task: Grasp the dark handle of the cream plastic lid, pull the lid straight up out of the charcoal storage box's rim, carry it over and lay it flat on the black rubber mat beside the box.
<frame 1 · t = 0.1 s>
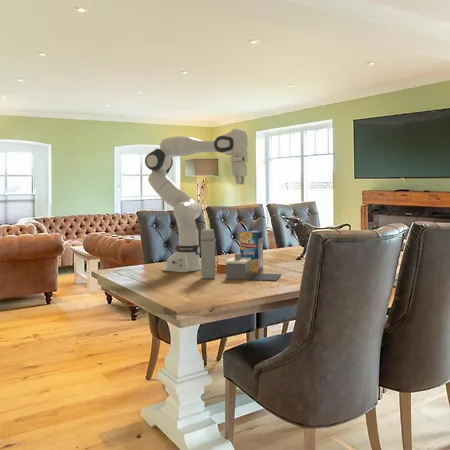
hand: (240, 184, 257), 48 cm above the table, fingers open, 8 cm apart
water bottle: (210, 278, 244), on the table
storage box: (238, 276, 245), on the table
beverage box: (251, 271, 262), on the table
lid: (238, 261, 245), point 8 cm above the table, touching storage box
mat: (265, 277, 241), on the table
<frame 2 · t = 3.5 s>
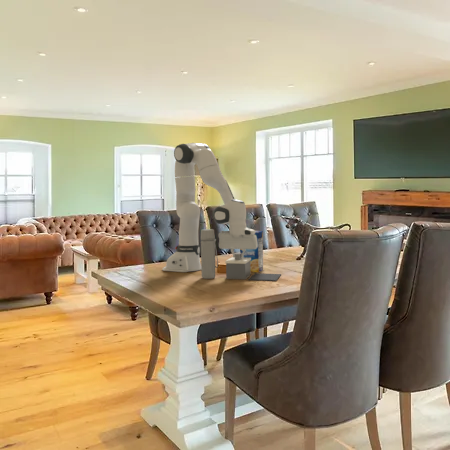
hand: (238, 257, 244), 10 cm above the table, fingers closed on lid, 2 cm apart
lid: (238, 261, 245), point 8 cm above the table, touching gripper, storage box
everything else where it was.
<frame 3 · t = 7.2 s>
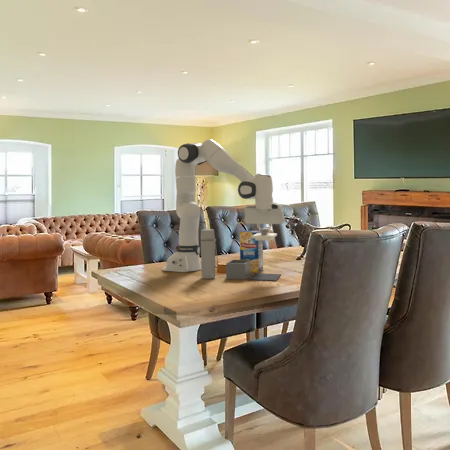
hand: (264, 232, 240), 23 cm above the table, fingers closed on lid, 2 cm apart
lid: (264, 236, 240), point 21 cm above the table, touching gripper
everything else where it was.
when the fingers open (5 cm above the table, at t = 10.7 s): lid drops 1 cm, resting on mat.
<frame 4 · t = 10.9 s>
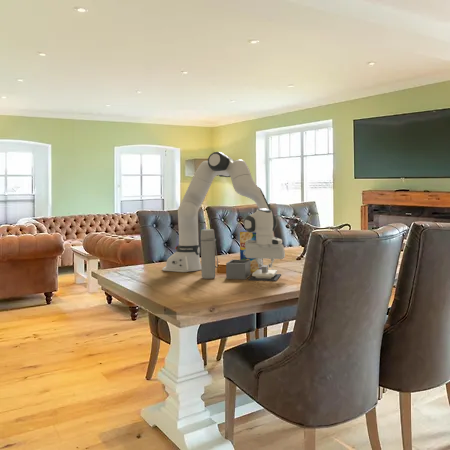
hand: (265, 267, 241), 5 cm above the table, fingers open, 4 cm apart
lid: (265, 274, 241), point 2 cm above the table, touching mat
everything else where it was.
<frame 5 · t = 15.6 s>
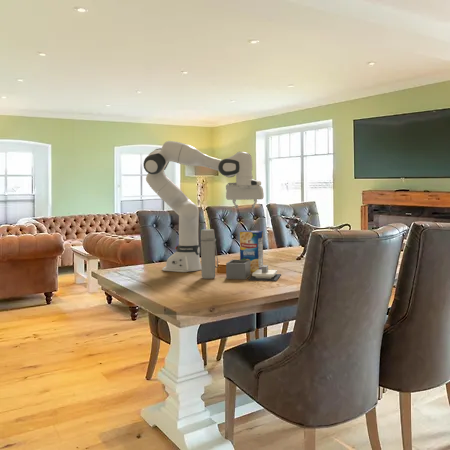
hand: (244, 208, 254), 35 cm above the table, fingers open, 8 cm apart
nothing on the table moved.
at the end: lid inside the target area on the mat (0.1 cm from its centre), point 1.8 cm above the mat's base; lid tilted 0°; lid touching mat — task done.
